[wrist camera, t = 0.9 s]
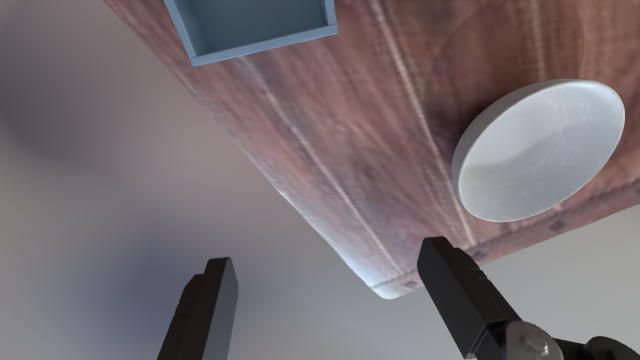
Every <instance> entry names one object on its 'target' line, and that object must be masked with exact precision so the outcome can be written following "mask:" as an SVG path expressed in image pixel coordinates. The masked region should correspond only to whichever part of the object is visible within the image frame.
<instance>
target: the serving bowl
mask: <svg viewBox="0 0 640 360" xmlns="http://www.w3.org/2000/svg"><path fill="white" fill-rule="evenodd" d="M624 123H625V110H624V105H623V102H622V100H621V98H620V97H619V95H618V94H617V93H616V92H615V91H614V90H613V89H612V88H610V87H609V86H607V85H605V84H603V83H600V82H596V81H592V80H583V79H555V80H547V81H542V82H538V83H534V84H531V85H528V86H525V87H522V88H520V89H517V90H515V91H513V92H511V93H509V94H507V95H505V96H503V97H502V98H500V99H498V100H497V101H495V102H494V103H493V104H491V105H490V106H489V107H487V108H486V109H485V110H484V111H483V112H481V113H480V114H479V115H478V116H477V117H476V118H475V119H474V120H473V122H472V123H471V124H470V125H469V126H468V128H467V129H466V130H465V132H464V133H463V135H462V137H461V138H460V140H459V142H458V144H457V146H456V149H455V152H454V155H453V159H452V164H451V179H452V184H453V188H454V191H455V193H456V195H457V197H458V199H459V201H460V202H461V204H462V205H463V207H464V208H465V209H466V210H467V211H468V212H469V213H470V214H472V215H473V216H475V217H477V218H480V219H483V220H487V221H493V222H508V221H515V220H520V219H524V218H527V217H530V216H533V215H536V214H539V213H541V212H544V211H546V210H548V209H550V208H552V207H554V206H555V205H557V204H559V203H560V202H562V201H564V200H565V199H567V198H568V197H570V196H571V195H573V194H574V193H575V192H577V191H578V190H579V189H581V188H582V187H583V186H584V185H585V184H586V183H587V182H589V181H590V180H591V179H592V178H593V177H594V176H595V175H596V174H597V173H598V172H599V171H600V169H601V168H602V167H603V166H604V165H605V163H606V162H607V161H608V159H609V158H610V156H611V155H612V153H613V152H614V150H615V148H616V146H617V144H618V142H619V140H620V137H621V135H622V131H623V128H624Z"/></svg>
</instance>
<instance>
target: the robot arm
mask: <svg viewBox="0 0 640 360" xmlns="http://www.w3.org/2000/svg"><path fill="white" fill-rule="evenodd" d="M417 269H418V273H419V276H420V278H421V280H422V282H423V283H424V285H425V287H426V289H427V291H428V293H429V294H430V296H431V298H432V300H433V302H434V304H435V306H436V307H437V309H438V311H439V313H440V315H441V317H442V319H443V320H444V322H445V324H446V326H447V328H448V330H449V332H450V333H451V335H452V337H453V339H454V341H455V343H456V344H457V346H458V348H459V350H460V352H461V353H462V356H463V358H464V359H472V358H477V360H640V355H639V354H637V353H636V352H635V351H634V350H632V349H631V348H629V347H628V346H626V345H624V344H622V343H620V342H618V341H616V340H614V339H611V338H608V337H603V336H597V337H593V338H591V340H589V341H588V342H587V343H586V344H581V343H575V342H571V341H566V340H561V339H556V338H552V337H551V336H550V335H549V334H547V333H546V332H545V331H544V330H542V329H541V328H539V327H537V326H536V325H534V324H531V323H529V322H525V321H523V320H522V319H521V318H520V317H519V316H518V315H517V313H516V312H515V311H514V310H513V308H512V307H511V306H510V305H509V304H508V302H507V301H506V300H505V299H504V297H503V296H502V295H501V294H500V292H499V291H498V290H497V289H496V287H495V286H494V285H493V284H492V282H491V281H490V280H488V279H487V276H486V275H485V274H484V273H483V271H482V270H480V268H479V266H478V265H477V264H476V263H475V261H474V260H473V259H472V258H471V257H470V256H469V255H468V254H466V253H465V252H464V251H462V250H461V249H460V248H454V247H453V246H452V245H451V243H450V242H449V241H448V240H447V238H445V237H444V236H438V237H429V238H424V240H423V243H422V246H421V250H420V254H419V257H418V261H417ZM237 299H238V281H237V277H236V274H235V271H234V267H233V264H232V260H231V258H230V257H224V258H214V259H209V261H208V263H207V265H206V268H205V272H204V274H197V275H194V277H193V278H192V279H191V280H190V281H189V283H188V284H187V285H186V286H185V288H184V290H183V293H182V296H181V298H180V301H179V304H178V306H177V308H176V311H175V316H174V317H173V319H172V322H171V324H170V327H169V329H168V332H167V334H166V337H165V340H164V342H163V345H162V348H161V350H160V353H159V355H158V358H157V360H227V356H228V350H229V344H230V339H231V333H232V327H233V321H234V316H235V310H236V304H237Z"/></svg>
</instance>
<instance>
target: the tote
mask: <svg viewBox="0 0 640 360" xmlns="http://www.w3.org/2000/svg"><path fill="white" fill-rule="evenodd" d="M164 3H165V5H166V7H167V9H168V12H169V14H170V16H171V18H172V21H173V23H174V25H175V27H176V30H177V32H178V34H179V36H180V39H181V41H182V43H183V45H184V48H185V50H186V52H187V54H188V57H189V58H190V61H191V64H192V66H193V67H196V66H200V65H204V64H209V63H213V62H217V61H221V60H226V59H230V58H234V57H238V56H243V55H247V54H251V53H255V52H260V51H264V50H268V49H273V48H277V47H281V46H285V45H290V44H294V43H298V42H302V41H307V40H311V39H315V38H319V37H324V36H328V35H332V34H337V33H338V29H337V24H336V23H337V22H336V14H335V7H334V0H164Z"/></svg>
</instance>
